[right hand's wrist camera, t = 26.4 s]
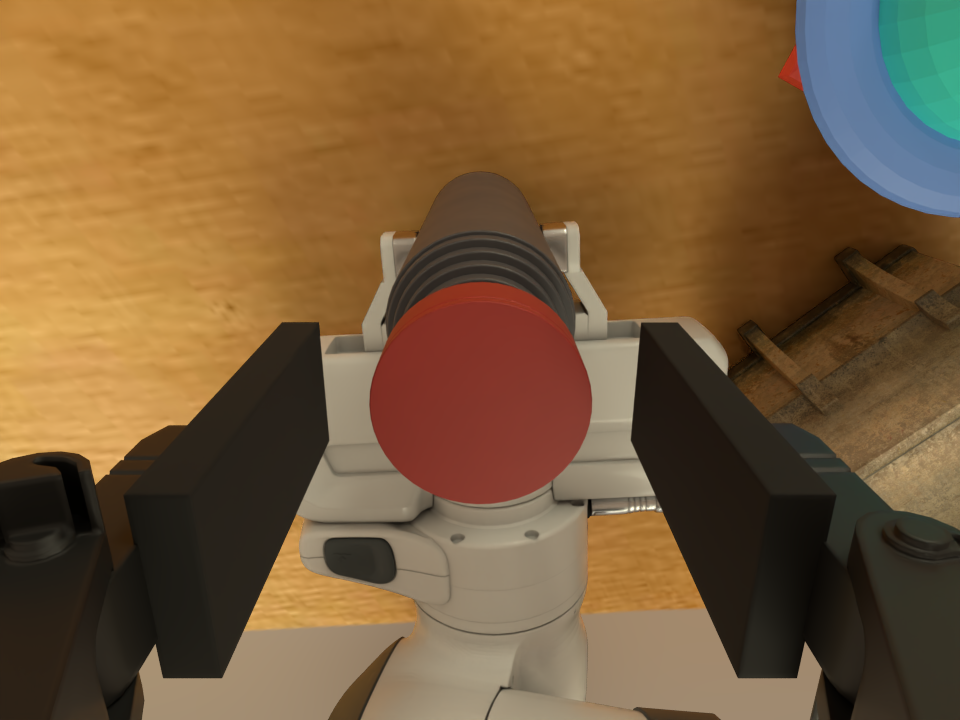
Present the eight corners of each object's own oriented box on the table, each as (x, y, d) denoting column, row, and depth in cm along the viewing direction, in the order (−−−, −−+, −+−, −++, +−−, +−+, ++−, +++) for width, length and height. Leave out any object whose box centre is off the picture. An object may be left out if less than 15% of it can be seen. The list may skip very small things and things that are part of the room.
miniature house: (662, 385, 36) (738, 501, 26) (894, 213, 33) (1091, 263, 22) (807, 558, 40) (926, 720, 30) (1027, 419, 37) (1249, 545, 26)
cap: (382, 464, 15) (371, 501, 14) (378, 277, 14) (366, 297, 12) (572, 470, 15) (582, 507, 14) (590, 284, 14) (603, 305, 12)
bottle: (451, 288, 35) (413, 529, 15) (413, 193, 33) (313, 323, 13) (544, 253, 34) (635, 458, 14) (511, 155, 32) (560, 232, 12)
